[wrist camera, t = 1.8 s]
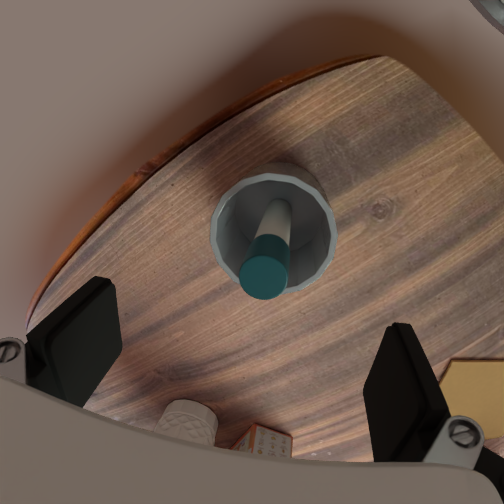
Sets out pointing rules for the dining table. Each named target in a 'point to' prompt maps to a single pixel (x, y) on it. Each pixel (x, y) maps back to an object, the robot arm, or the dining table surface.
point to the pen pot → (251, 213)
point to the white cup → (188, 422)
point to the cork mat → (476, 393)
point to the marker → (268, 254)
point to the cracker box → (264, 442)
